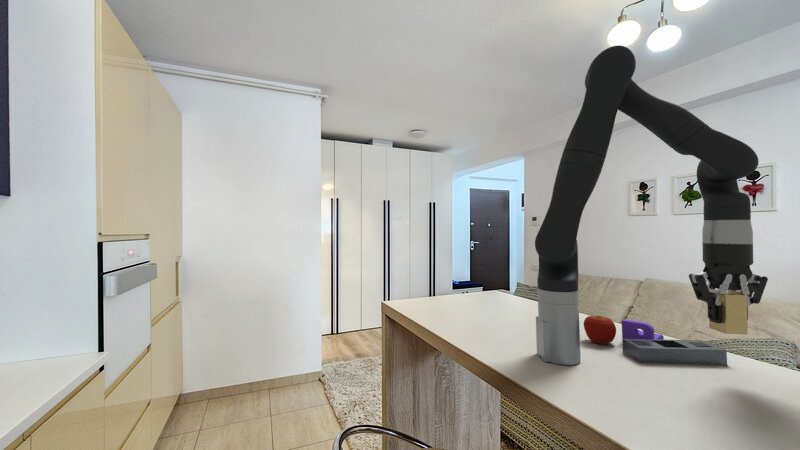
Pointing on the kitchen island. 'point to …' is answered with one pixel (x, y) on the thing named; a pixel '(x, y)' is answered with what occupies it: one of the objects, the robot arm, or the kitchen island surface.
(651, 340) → the grey base plate
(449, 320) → the kitchen island surface
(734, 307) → the tan block
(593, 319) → the apple
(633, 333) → the bracket
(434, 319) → the kitchen island surface
